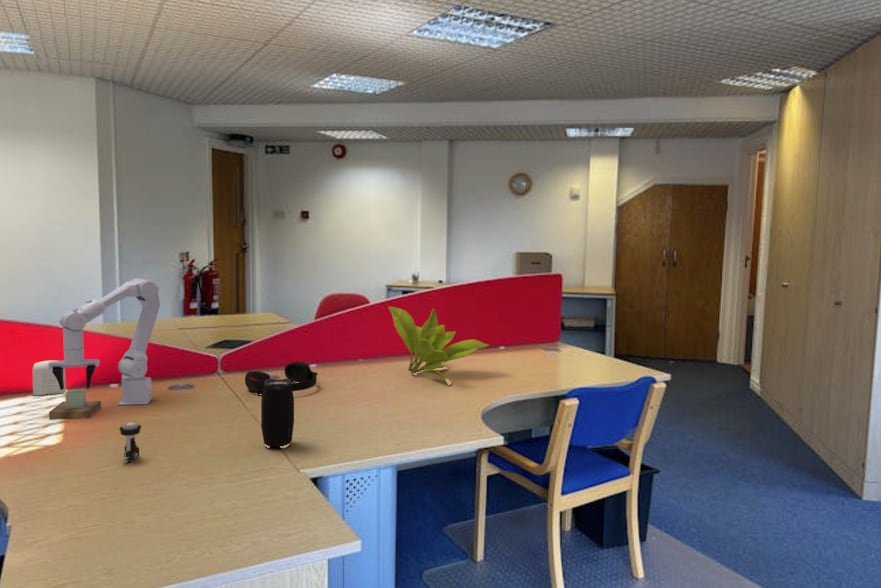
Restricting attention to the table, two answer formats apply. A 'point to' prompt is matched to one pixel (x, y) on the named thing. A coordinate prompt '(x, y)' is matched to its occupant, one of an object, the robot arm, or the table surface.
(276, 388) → the portable speaker
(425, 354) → the artificial plant
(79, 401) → the sage wooden cube
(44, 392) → the photo printer
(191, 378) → the table surface
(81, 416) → the walnut riser block
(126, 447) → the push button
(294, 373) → the headset
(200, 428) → the table surface
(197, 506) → the table surface
